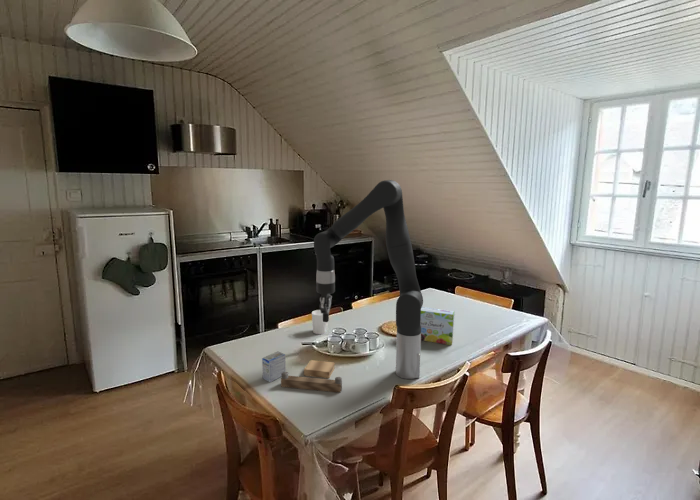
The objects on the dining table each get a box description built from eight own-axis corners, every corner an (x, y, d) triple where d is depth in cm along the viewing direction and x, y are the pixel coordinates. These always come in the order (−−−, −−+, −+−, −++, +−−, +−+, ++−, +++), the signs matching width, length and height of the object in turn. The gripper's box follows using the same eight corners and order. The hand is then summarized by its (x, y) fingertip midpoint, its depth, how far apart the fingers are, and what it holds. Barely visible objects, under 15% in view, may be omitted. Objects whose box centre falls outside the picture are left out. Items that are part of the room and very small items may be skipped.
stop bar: (342, 388, 147) (342, 376, 146) (340, 392, 144) (340, 380, 143) (283, 382, 150) (283, 371, 150) (280, 386, 148) (280, 375, 147)
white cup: (331, 331, 199) (331, 312, 197) (319, 336, 194) (319, 316, 192) (320, 327, 205) (320, 308, 203) (308, 331, 199) (308, 312, 197)
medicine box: (278, 371, 159) (277, 350, 157) (286, 375, 156) (285, 354, 155) (262, 379, 153) (261, 357, 151) (270, 382, 150) (269, 361, 149)
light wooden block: (334, 369, 162) (334, 362, 161) (329, 379, 154) (329, 372, 153) (310, 367, 164) (310, 360, 163) (304, 376, 156) (304, 369, 155)
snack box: (406, 339, 191) (407, 308, 188) (408, 334, 196) (409, 304, 193) (451, 345, 184) (453, 314, 181) (453, 341, 189) (455, 310, 186)
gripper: (331, 285, 156) (331, 328, 159) (338, 277, 169) (338, 316, 172) (312, 284, 157) (312, 326, 160) (320, 276, 170) (320, 315, 173)
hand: (325, 321), depth 166 cm, fingers closed
